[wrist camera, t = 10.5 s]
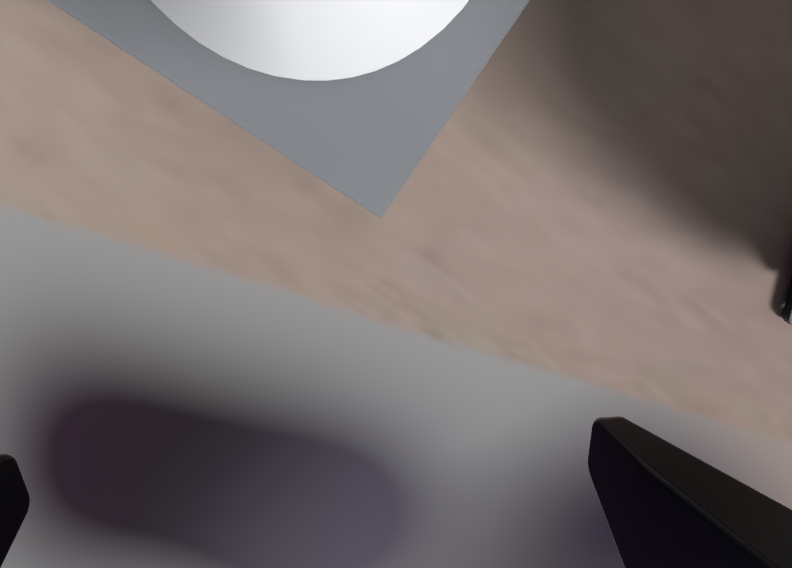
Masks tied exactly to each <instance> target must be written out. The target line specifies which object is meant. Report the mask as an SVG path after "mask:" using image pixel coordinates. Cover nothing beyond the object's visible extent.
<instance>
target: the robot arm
mask: <svg viewBox="0 0 792 568" xmlns="http://www.w3.org/2000/svg"><path fill="white" fill-rule="evenodd" d="M783 319H784V321H786V322H787V323H789V324H791V325H792V279H791V283H790V287H789V291H788V295H787V299H786V303H785V307H784V311H783ZM588 468H589V472H590V476H591V479H592V481H593V484H594V487H595V490H596V492H597V495H598V497H599V500H600V503H601V505H602V508H603V511H604V514H605V516H606V519H607V522H608V524H609V527H610V529H611V532H612V535H613V538H614V540H615V543H616V546H617V548H618V551H619V554H620V556H621V558H622V561H623V564H624V566H625V568H792V510H791V509H789V508H787V507H785V506H783V505H782V504H780V503H778V502H776V501H774V500H772V499H770V498H769V497H767V496H765V495H763V494H762V493H760V492H758V491H756V490H754V489H752V488H751V487H749V486H747V485H745V484H743V483H742V482H740V481H738V480H736V479H734V478H732V477H731V476H729V475H727V474H725V473H723V472H722V471H720V470H718V469H716V468H714V467H712V466H711V465H709V464H707V463H705V462H703V461H701V460H700V459H698V458H696V457H694V456H692V455H691V454H689V453H687V452H685V451H683V450H682V449H680V448H678V447H676V446H674V445H672V444H671V443H669V442H667V441H665V440H663V439H661V438H660V437H658V436H656V435H654V434H652V433H651V432H649V431H647V430H645V429H643V428H642V427H640V426H638V425H636V424H634V423H632V422H630V421H628V420H627V419H625V418H623V417H602V418H597V419H596V420H595V421H594V423H593V426H592V432H591V440H590V448H589V456H588ZM29 503H30V498H29V493H28V490H27V488H26V485H25V482H24V480H23V477H22V474H21V472H20V469H19V467H18V464H17V462H16V460H15V459H14V458H13V457H12V456H11V455H7V454H0V567H1V565H2V563H3V561H4V559H5V557H6V555H7V553H8V551H9V549H10V547H11V545H12V543H13V541H14V539H15V537H16V535H17V533H18V530H19V529H20V527H21V524H22V522H23V520H24V518H25V516H26V514H27V512H28V508H29Z"/></svg>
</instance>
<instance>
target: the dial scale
mask: <svg viewBox="0 0 792 568" xmlns="http://www.w3.org/2000/svg"><path fill="white" fill-rule="evenodd" d="M48 1H49V2H51V3H52V4H54V5H55V6H57V7H58V8H60V9H61V10H63V11H64V12H66V13H67V14H69V15H71V16H72V17H74V18H75V19H77V20H78V21H80V22H81V23H83V24H84V25H86V26H87V27H89V28H90V29H92V30H93V31H95V32H97V33H98V34H100V35H101V36H103V37H104V38H106V39H107V40H109V41H110V42H112V43H113V44H115V45H116V46H118V47H119V48H121V49H123V50H124V51H126V52H127V53H129V54H130V55H132V56H133V57H135V58H136V59H138V60H139V61H141V62H142V63H144V64H145V65H147V66H149V67H150V68H152V69H153V70H155V71H156V72H158V73H159V74H161V75H162V76H164V77H165V78H167V79H168V80H170V81H171V82H173V83H175V84H176V85H178V86H179V87H181V88H182V89H184V90H185V91H187V92H188V93H190V94H191V95H193V96H194V97H196V98H197V99H199V100H201V101H202V102H204V103H205V104H207V105H208V106H210V107H211V108H213V109H214V110H216V111H217V112H219V113H220V114H222V115H223V116H225V117H227V118H228V119H230V120H231V121H233V122H234V123H236V124H237V125H239V126H240V127H242V128H243V129H245V130H246V131H248V132H249V133H251V134H253V135H254V136H256V137H257V138H259V139H260V140H262V141H263V142H265V143H266V144H268V145H269V146H271V147H272V148H274V149H275V150H277V151H279V152H280V153H282V154H283V155H285V156H286V157H288V158H289V159H291V160H292V161H294V162H295V163H297V164H298V165H300V166H301V167H303V168H305V169H306V170H308V171H309V172H311V173H312V174H314V175H315V176H317V177H318V178H320V179H321V180H323V181H324V182H326V183H327V184H329V185H331V186H332V187H334V188H335V189H337V190H338V191H340V192H341V193H343V194H344V195H346V196H347V197H349V198H350V199H352V200H353V201H355V202H356V203H358V204H360V205H361V206H363V207H364V208H366V209H367V210H369V211H370V212H372V213H373V214H375V215H376V216H378V217H379V218H381V217H382V216H383V214H384V213H385V212H386V210H387V209H388V207H389V206H390V204H391V203H392V201H393V200H394V198H395V197H396V195H397V194H398V192H399V191H400V190H401V188H402V187H403V185H404V184H405V182H406V181H407V179H408V178H409V176H410V175H411V173H412V172H413V171H414V169H415V168H416V166H417V165H418V163H419V162H420V160H421V159H422V157H423V156H424V154H425V153H426V151H427V150H428V149H429V147H430V146H431V144H432V143H433V141H434V140H435V138H436V137H437V135H438V134H439V132H440V131H441V129H442V128H443V127H444V125H445V124H446V122H447V121H448V119H449V118H450V116H451V115H452V113H453V112H454V110H455V109H456V107H457V106H458V105H459V103H460V102H461V100H462V99H463V97H464V96H465V94H466V93H467V91H468V90H469V88H470V87H471V86H472V84H473V83H474V81H475V80H476V78H477V77H478V75H479V74H480V72H481V71H482V69H483V68H484V66H485V65H486V64H487V62H488V61H489V59H490V58H491V56H492V55H493V53H494V52H495V50H496V49H497V47H498V46H499V44H500V43H501V42H502V40H503V39H504V37H505V36H506V34H507V33H508V31H509V30H510V28H511V27H512V25H513V24H514V22H515V21H516V20H517V18H518V17H519V15H520V14H521V12H522V11H523V9H524V8H525V6H526V5H527V3H528V2H529V1H530V0H48Z"/></svg>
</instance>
